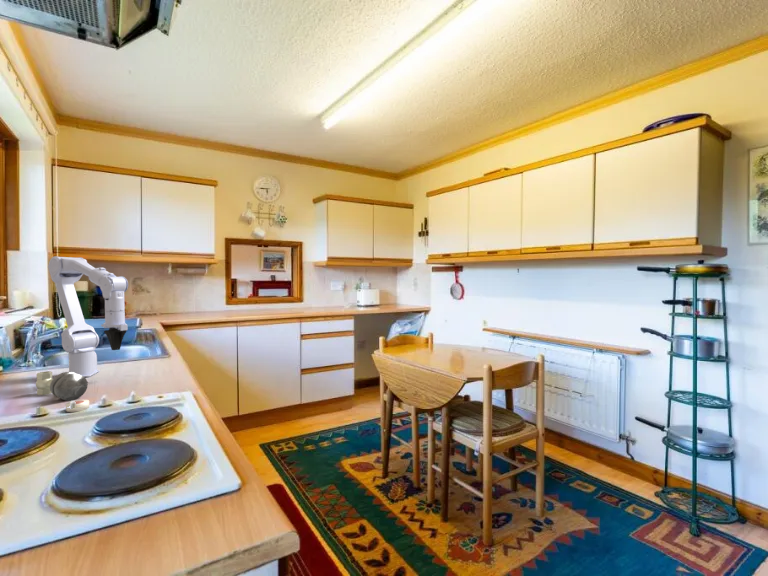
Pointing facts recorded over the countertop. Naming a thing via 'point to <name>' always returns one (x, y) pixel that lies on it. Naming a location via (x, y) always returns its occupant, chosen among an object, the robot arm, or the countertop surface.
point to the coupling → (68, 386)
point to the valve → (44, 382)
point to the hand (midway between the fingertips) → (115, 349)
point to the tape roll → (79, 402)
